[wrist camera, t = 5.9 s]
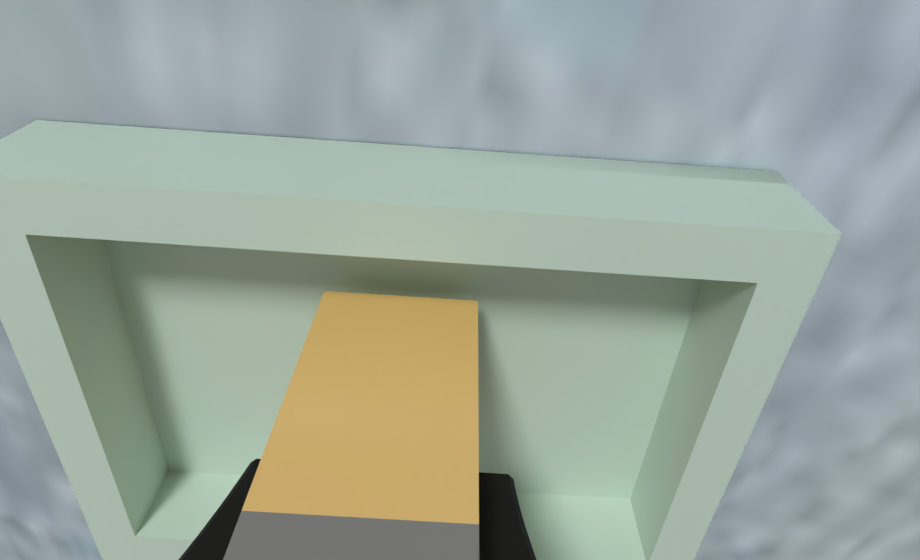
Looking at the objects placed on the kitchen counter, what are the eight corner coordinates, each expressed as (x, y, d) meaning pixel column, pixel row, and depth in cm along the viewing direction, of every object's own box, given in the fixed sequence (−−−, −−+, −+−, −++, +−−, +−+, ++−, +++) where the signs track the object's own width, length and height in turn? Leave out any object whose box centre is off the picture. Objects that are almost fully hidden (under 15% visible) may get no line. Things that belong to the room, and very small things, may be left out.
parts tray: (776, 171, 12) (842, 233, 10) (653, 506, 17) (678, 592, 15) (36, 120, 12) (-62, 172, 9) (148, 475, 17) (102, 559, 15)
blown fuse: (477, 300, 12) (479, 602, 7) (464, 443, 14) (458, 752, 9) (324, 291, 12) (213, 586, 7) (334, 435, 14) (255, 741, 9)
